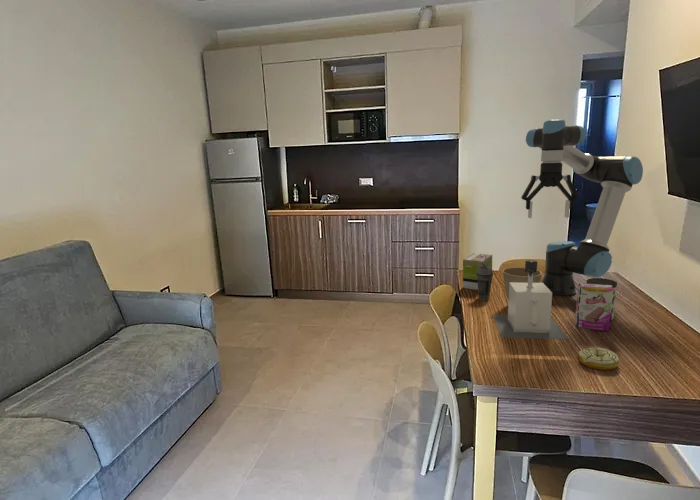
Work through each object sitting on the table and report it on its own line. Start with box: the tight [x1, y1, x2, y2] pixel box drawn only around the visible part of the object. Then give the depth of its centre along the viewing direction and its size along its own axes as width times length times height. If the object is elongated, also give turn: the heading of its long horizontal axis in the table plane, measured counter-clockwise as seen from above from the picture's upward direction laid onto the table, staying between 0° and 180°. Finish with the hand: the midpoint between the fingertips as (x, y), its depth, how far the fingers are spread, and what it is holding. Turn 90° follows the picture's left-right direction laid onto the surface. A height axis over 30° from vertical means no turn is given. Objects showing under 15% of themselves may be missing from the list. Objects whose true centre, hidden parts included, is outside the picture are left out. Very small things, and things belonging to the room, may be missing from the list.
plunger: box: [524, 259, 538, 288], centre depth 157 cm, size 10×10×24 cm
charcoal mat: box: [492, 314, 570, 340], centre depth 160 cm, size 22×22×1 cm
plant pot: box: [502, 267, 543, 302], centre depth 180 cm, size 15×15×16 cm
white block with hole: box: [507, 282, 553, 333], centre depth 157 cm, size 12×15×15 cm
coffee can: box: [586, 277, 618, 321], centre depth 168 cm, size 10×10×14 cm
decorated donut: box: [578, 347, 620, 371], centre depth 133 cm, size 10×11×4 cm
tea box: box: [462, 252, 493, 291], centre depth 212 cm, size 15×10×15 cm
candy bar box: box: [574, 282, 615, 333], centre depth 157 cm, size 11×5×16 cm, turn 71°
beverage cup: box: [476, 256, 494, 301], centre depth 193 cm, size 7×7×20 cm
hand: (548, 217), depth 169 cm, fingers open, 13 cm apart
